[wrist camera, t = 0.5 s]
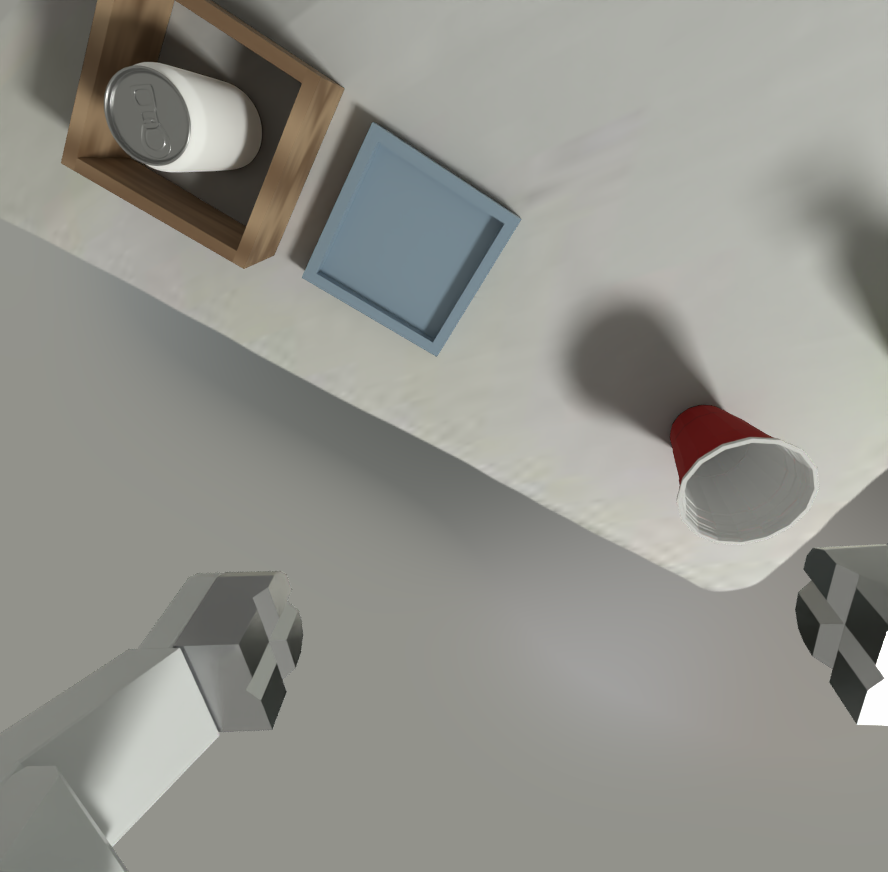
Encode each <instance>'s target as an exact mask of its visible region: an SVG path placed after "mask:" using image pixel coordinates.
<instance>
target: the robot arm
mask: <svg viewBox="0 0 888 872" xmlns="http://www.w3.org/2000/svg"><path fill="white" fill-rule="evenodd" d="M804 571H805V572H806V574H807V575H808V576H809V578H810V579H811V581H810V582H809V583H808V584H807V585H806V586H805V587H804V588H802V590H800V591H799V592H798V596H797V602H796V608H795V612H796V619H797V625H798V629H799V632H800V634H801V637H802V639H803V642H804V643H805V645H806V647H807V648H808V650H809V652H810V653H811V655H812V656H813V657H814V658H816V659H817V660H819V661H820V662H822V663H824V664H825V665H827V666H828V667H830V668H832V673H831V677H830V681H829V682H830V684H831V686H832V687H833V689H834V690H835V692H836V693H837V695H838V697H839V698H840V700H841V701H842V703H843V704H844V706H845V707H846V709H847V710H848V712H849V713H850V715H851V716H852V718H853V720H854V721H855V722H856V724H857V725H888V544H886V545H883V544H880V545H860V546H841V547H820V548H812V549H811V551H810V552H809V553H808V555H807V557H806V561H805V564H804ZM291 591H292V588H291V585H290V582H289V579H288V577H287V574H285V573H283V572H281V571H263V572H261V571H260V572H259V571H258V572H225V573H197V574H195V575H193V576H191V577H189V578H188V579H187V581H186V582H185V583H184V585H183V586H182V588H181V589H180V590H179V592H178V593H177V595H176V596H175V597H174V599H173V600H172V602H171V603H170V604H169V606H168V607H167V609H166V610H165V611H164V613H163V614H162V616H161V617H160V618H159V620H158V621H157V623H156V624H155V625H154V627H153V628H152V630H151V631H150V632H149V634H148V635H147V637H146V638H145V639H144V641H143V642H142V644H141V645H140V646H139V648H138V649H128V650H126V651H125V652H124V653H122V654H120V655H119V656H117V657H116V658H114V659H113V660H111V661H110V662H108V663H107V664H105V665H104V666H102V667H100V668H99V669H97V670H96V671H94V672H93V673H91V674H90V675H88V676H87V677H85V678H84V679H82V680H81V681H79V682H78V683H76V684H74V685H73V686H72V687H70V688H68V689H67V690H65V691H64V692H62V693H61V694H59V695H58V696H56V697H55V698H53V699H52V700H50V701H48V702H47V703H45V704H44V705H43V706H41V707H39V708H38V709H36V710H35V711H33V712H32V713H30V714H29V715H27V716H26V717H24V718H22V719H21V720H20V721H18V722H16V723H15V724H14V725H12V726H10V727H9V728H7V729H6V730H4V731H3V732H1V733H0V872H129V870H128V869H127V868H126V866H125V865H124V863H123V862H122V860H121V859H120V858H119V856H118V855H117V853H116V852H115V850H114V849H113V846H114V845H115V844H116V842H117V841H118V840H119V839H120V838H121V837H122V836H123V835H124V834H125V833H126V832H127V831H128V830H129V829H130V828H131V827H132V826H133V825H134V824H135V823H136V822H137V821H138V820H139V818H141V817H142V815H143V814H144V813H145V812H146V811H147V810H148V809H149V808H150V807H151V806H152V805H153V804H154V803H155V802H156V801H157V800H158V799H159V798H160V797H161V796H162V795H163V794H164V793H165V792H166V791H167V789H168V788H169V787H170V786H171V785H172V784H173V783H174V782H175V781H176V780H177V779H178V778H179V777H180V776H181V775H182V774H183V773H184V772H185V771H186V770H187V769H188V768H189V767H190V766H191V765H192V763H193V762H194V761H195V760H196V759H197V758H198V757H199V756H200V755H201V754H202V753H203V752H204V751H205V750H206V749H207V748H208V747H209V746H210V745H211V743H213V742H214V741H215V739H216V738H218V737H219V732H234V731H259V730H272V729H273V727H274V724H275V721H276V719H277V716H278V713H279V711H280V708H281V706H282V703H283V700H284V698H285V695H286V692H287V691H286V689H285V686H284V683H283V679H284V678H285V677H286V676H287V675H288V674H289V673H291V672H292V671H293V670H294V669H295V668H296V665H297V663H298V660H299V657H300V654H301V648H302V639H303V629H302V620H301V617H300V614H299V610H298V609H297V608H295V607H294V606H293V605H292V604H290V603H289V602H288V601H287V600H288V598H289V596H290V593H291Z"/></svg>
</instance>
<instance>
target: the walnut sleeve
mask: <svg viewBox="0 0 888 872" xmlns="http://www.w3.org/2000/svg"><path fill="white" fill-rule="evenodd" d="M175 1H177V2H178V3H180V4H182V5H183V6H185V7H186V8H188V9H189V10H191V11H192V12H194V13H195V14H197V15H198V16H200V17H201V18H203V19H204V20H206V21H208V22H209V23H211V24H212V25H214V26H215V27H217V28H218V29H220V30H221V31H223V32H224V33H226V34H227V35H229V36H230V37H232V38H234V39H235V40H237V41H238V42H240V43H241V44H243V45H244V46H246V47H247V48H249V49H250V50H252V51H253V52H255V53H256V54H258V55H260V56H261V57H263V58H264V59H266V60H267V61H269V62H270V63H272V64H273V65H275V66H276V67H278V68H279V69H281V70H282V71H284V72H286V73H287V74H289V75H290V76H292V77H293V78H295V79H296V80H298V81H299V82H301V83H302V85H301V87H300V90H299V93H298V95H297V98H296V100H295V103H294V105H293V108H292V111H291V113H290V116H289V118H288V121H287V123H286V126H285V129H284V131H283V134H282V136H281V139H280V141H279V144H278V146H277V149H276V152H275V154H274V157H273V159H272V162H271V164H270V167H269V170H268V172H267V175H266V177H265V180H264V182H263V185H262V188H261V190H260V193H259V195H258V198H257V200H256V203H255V205H254V208H253V211H252V213H251V216H250V218H249V221H248V223H247V226H244V225H243V224H241V223H239V222H238V221H236V220H234V219H233V218H231V217H229V216H228V215H226V214H224V213H223V212H221V211H219V210H218V209H216V208H214V207H212V206H211V205H209V204H207V203H206V202H204V201H202V200H201V199H199V198H197V197H196V196H194V195H192V194H191V193H189V192H187V191H185V190H184V189H182V188H180V187H179V186H177V185H175V184H174V183H172V182H170V181H169V180H167V179H165V178H164V177H162V176H160V175H158V174H157V173H155V172H153V171H152V170H150V169H148V168H147V167H145V166H143V165H142V164H140V163H138V162H137V161H135V160H133V159H132V158H131V156H130V155H128V154H127V153H126V152H125V151H124V150H123V149H122V148H121V147H120V146H119V144H118V143H117V142H116V140H115V139H114V137H113V135H112V133H111V131H110V129H109V127H108V124H107V121H106V117H105V112H104V96H105V91H106V88H107V85H108V83H109V81H110V80H111V78H112V77H113V76H114V75H115V74H116V73H117V72H118V71H120V70H121V69H123V68H125V67H129V66H133V65H135V64H138V63H142V62H158V58H159V54H160V51H161V47H162V44H163V40H164V36H165V33H166V29H167V26H168V22H169V18H170V15H171V11H172V8H173V4H174V0H97V4H96V9H95V13H94V18H93V22H92V27H91V31H90V36H89V40H88V45H87V49H86V54H85V58H84V62H83V67H82V71H81V76H80V80H79V85H78V89H77V94H76V98H75V103H74V107H73V112H72V116H71V121H70V125H69V129H68V134H67V138H66V143H65V147H64V152H63V156H62V161H61V163H62V164H63V165H65V166H67V167H69V168H70V169H72V170H74V171H75V172H77V173H79V174H81V175H82V176H84V177H86V178H88V179H89V180H91V181H93V182H94V183H96V184H98V185H100V186H101V187H103V188H105V189H107V190H108V191H110V192H112V193H114V194H115V195H117V196H119V197H120V198H122V199H124V200H126V201H127V202H129V203H131V204H133V205H134V206H136V207H138V208H139V209H141V210H143V211H145V212H146V213H148V214H150V215H152V216H153V217H155V218H157V219H158V220H160V221H162V222H164V223H165V224H167V225H169V226H171V227H172V228H174V229H176V230H177V231H179V232H181V233H183V234H184V235H186V236H188V237H190V238H191V239H193V240H195V241H197V242H198V243H200V244H202V245H203V246H205V247H207V248H209V249H210V250H212V251H214V252H216V253H217V254H219V255H221V256H222V257H224V258H226V259H228V260H229V261H231V262H233V263H235V264H236V265H238V266H240V267H241V268H243V269H245V268H247V267H249V266H252V265H254V264H256V263H258V262H260V261H263V260H265V259H267V258H269V257H272V256H274V254H275V252H276V250H277V247H278V245H279V243H280V240H281V238H282V236H283V233H284V231H285V228H286V226H287V224H288V221H289V219H290V217H291V214H292V212H293V210H294V207H295V205H296V202H297V200H298V198H299V195H300V193H301V191H302V188H303V186H304V184H305V181H306V179H307V176H308V174H309V172H310V169H311V167H312V165H313V162H314V160H315V158H316V155H317V153H318V150H319V148H320V146H321V143H322V141H323V139H324V136H325V134H326V132H327V129H328V127H329V124H330V122H331V120H332V117H333V115H334V113H335V110H336V108H337V106H338V103H339V101H340V98H341V96H342V94H343V91H344V88H343V87H341V86H340V85H338V84H337V83H335V82H334V81H332V80H331V79H329V78H328V77H326V76H325V75H323V74H322V73H320V72H319V71H317V70H316V69H314V68H313V67H311V66H310V65H308V64H307V63H305V62H304V61H302V60H301V59H299V58H298V57H296V56H295V55H293V54H292V53H290V52H289V51H287V50H285V49H284V48H282V47H281V46H279V45H278V44H276V43H275V42H273V41H272V40H270V39H269V38H267V37H266V36H264V35H263V34H261V33H260V32H258V31H257V30H255V29H254V28H252V27H251V26H249V25H248V24H246V23H245V22H243V21H242V20H240V19H239V18H237V17H236V16H234V15H233V14H231V13H230V12H228V11H227V10H225V9H224V8H222V7H221V6H219V5H217V4H216V3H214V2H213V1H211V0H175Z"/></svg>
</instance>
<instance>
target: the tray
mask: <svg viewBox="0 0 888 872" xmlns="http://www.w3.org/2000/svg"><path fill="white" fill-rule="evenodd" d="M520 221H521V218H520V217H519V216H517V215H516V214H514V213H513V212H511V211H510V210H508V209H507V208H505V207H504V206H502V205H501V204H499V203H498V202H496V201H495V200H493V199H491V198H490V197H488V196H487V195H485V194H484V193H482V192H481V191H479V190H478V189H476V188H475V187H473V186H472V185H470V184H469V183H467V182H466V181H464V180H463V179H461V178H460V177H458V176H456V175H455V174H453V173H452V172H450V171H449V170H447V169H446V168H444V167H443V166H441V165H440V164H438V163H437V162H435V161H434V160H432V159H431V158H429V157H428V156H426V155H424V154H423V153H421V152H420V151H418V150H417V149H415V148H414V147H412V146H411V145H409V144H408V143H406V142H405V141H403V140H402V139H400V138H399V137H397V136H396V135H394V134H393V133H391V132H389V131H388V130H386V129H385V128H383V127H382V126H380V125H379V124H377V123H374V122H372V124H371V126H370V129H369V131H368V133H367V135H366V137H365V139H364V142H363V144H362V146H361V148H360V150H359V153H358V155H357V157H356V159H355V161H354V164H353V166H352V168H351V170H350V172H349V175H348V177H347V179H346V181H345V183H344V186H343V188H342V190H341V192H340V194H339V197H338V199H337V201H336V203H335V205H334V208H333V210H332V212H331V214H330V216H329V219H328V221H327V223H326V225H325V227H324V230H323V232H322V234H321V236H320V238H319V241H318V243H317V245H316V247H315V249H314V252H313V254H312V256H311V258H310V260H309V263H308V265H307V267H306V269H305V271H304V274H303V276H302V278H303V279H305V280H307V281H308V282H310V283H312V284H314V285H315V286H317V287H319V288H320V289H322V290H324V291H325V292H327V293H329V294H331V295H332V296H334V297H336V298H337V299H339V300H341V301H342V302H344V303H346V304H348V305H349V306H351V307H353V308H354V309H356V310H358V311H360V312H361V313H363V314H365V315H366V316H368V317H370V318H371V319H373V320H375V321H377V322H378V323H380V324H382V325H383V326H385V327H387V328H389V329H390V330H392V331H394V332H395V333H397V334H399V335H400V336H402V337H404V338H406V339H407V340H409V341H411V342H412V343H414V344H416V345H417V346H419V347H421V348H423V349H424V350H426V351H428V352H429V353H431V354H433V355H435V356H436V357H437V356H438V354H439V353H440V351H441V349H442V348H443V346H444V344H445V343H446V341H447V340H448V338H449V336H450V335H451V333H452V331H453V330H454V328H455V327H456V325H457V323H458V322H459V320H460V318H461V317H462V315H463V314H464V312H465V310H466V309H467V307H468V305H469V304H470V302H471V301H472V299H473V297H474V296H475V294H476V292H477V291H478V289H479V288H480V286H481V284H482V283H483V281H484V279H485V278H486V276H487V275H488V273H489V271H490V270H491V268H492V266H493V265H494V263H495V261H496V260H497V258H498V257H499V255H500V253H501V252H502V250H503V248H504V247H505V245H506V244H507V242H508V240H509V239H510V237H511V235H512V234H513V232H514V231H515V229H516V227H517V226H518V224H519V222H520Z"/></svg>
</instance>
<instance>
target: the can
mask: <svg viewBox="0 0 888 872" xmlns="http://www.w3.org/2000/svg"><path fill="white" fill-rule="evenodd" d="M104 112H105V117H106V121H107V124H108V127H109V129H110V131H111V133H112V135H113V137H114V139H115V140H116V142H117V143H118V144H119V146H120V147H121V148H122V149H123V150H124V151H125V152H126V153H127V154H128V155H130V156H131V157H132V158H134V159H136V160H137V161H139V162H142V163H144V164H146V165H148V166H150V167H152V168H154V169H157V170H160V171H165V172H201V171H223V170H234V169H238V168H241V167H244V166H246V165H247V164H249V163H250V162H251V161H252V160H253V159H254V158H255V156H256V155H257V153H258V151H259V148H260V145H261V141H262V126H261V121H260V117H259V114H258V112H257V110H256V108H255V106H254V104H253V103H252V101H251V100H250V98H249V97H248V96H247V95H246V94H245V93H244V92H243V91H241V90H240V89H239V88H237V87H236V86H234V85H232V84H229V83H227V82H224V81H221V80H218V79H214V78H211V77H208V76H204V75H201V74H198V73H194V72H191V71H187V70H184V69H180V68H177V67H173V66H170V65H166V64H162V63H157V62H142V63H138V64H135V65H133V66H129V67H125V68H123V69H121V70H120V71H118V72H117V73H116V74H115V75H114V76H113V77H112V78H111V80H110V81H109V83H108V85H107V88H106V91H105V96H104Z"/></svg>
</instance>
